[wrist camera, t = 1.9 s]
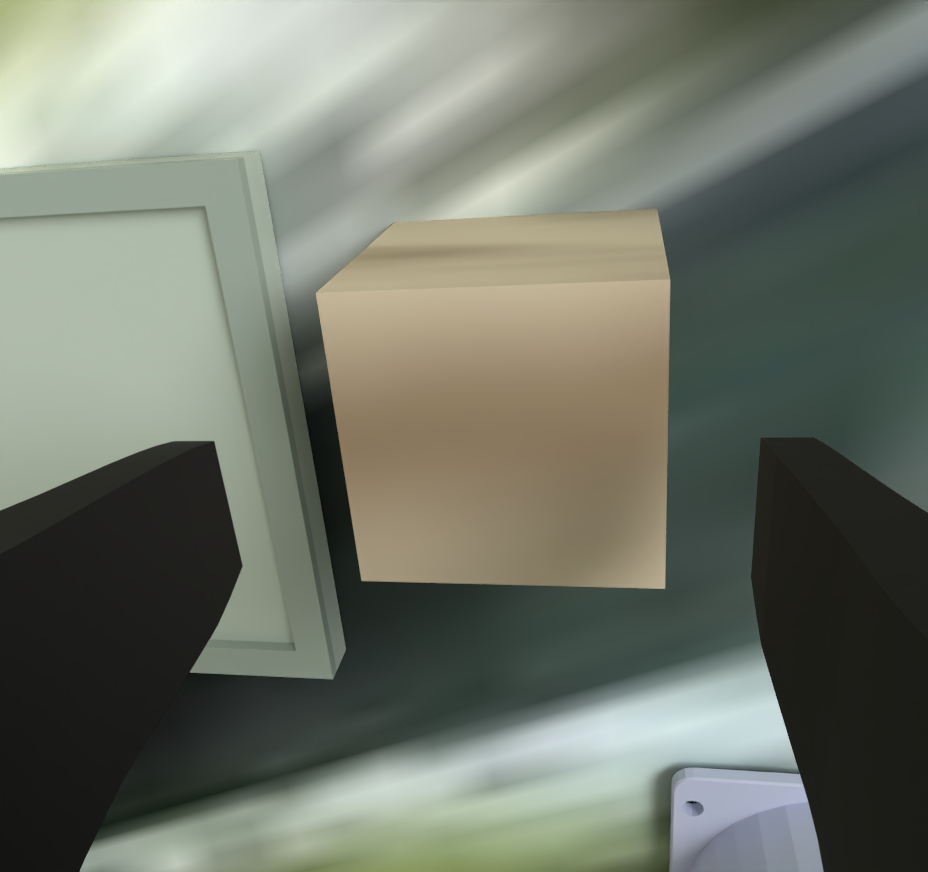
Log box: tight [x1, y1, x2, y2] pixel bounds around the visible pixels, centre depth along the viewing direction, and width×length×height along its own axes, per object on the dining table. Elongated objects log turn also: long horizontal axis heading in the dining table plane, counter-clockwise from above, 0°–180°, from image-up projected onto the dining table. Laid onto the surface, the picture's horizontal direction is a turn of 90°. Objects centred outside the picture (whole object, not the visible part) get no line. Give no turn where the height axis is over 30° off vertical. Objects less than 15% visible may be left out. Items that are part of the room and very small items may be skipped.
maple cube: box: [316, 209, 670, 589], centre depth 15 cm, size 5×5×5 cm
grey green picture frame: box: [0, 151, 346, 679], centre depth 20 cm, size 12×10×1 cm
